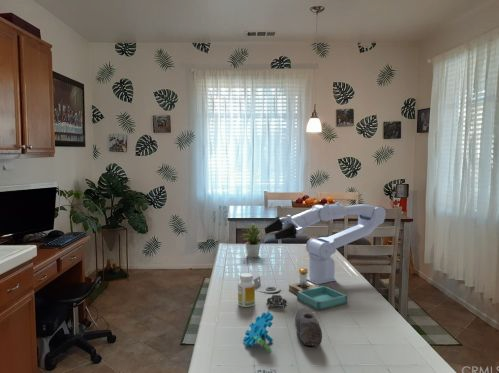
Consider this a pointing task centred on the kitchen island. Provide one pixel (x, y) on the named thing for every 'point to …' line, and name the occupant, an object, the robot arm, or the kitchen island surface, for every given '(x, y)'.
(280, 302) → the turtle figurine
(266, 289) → the bracket
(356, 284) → the kitchen island surface
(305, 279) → the pin
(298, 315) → the perforated stone tool
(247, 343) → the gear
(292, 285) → the socket
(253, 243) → the house plant
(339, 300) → the tray
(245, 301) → the supplement bottle
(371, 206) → the robot arm
